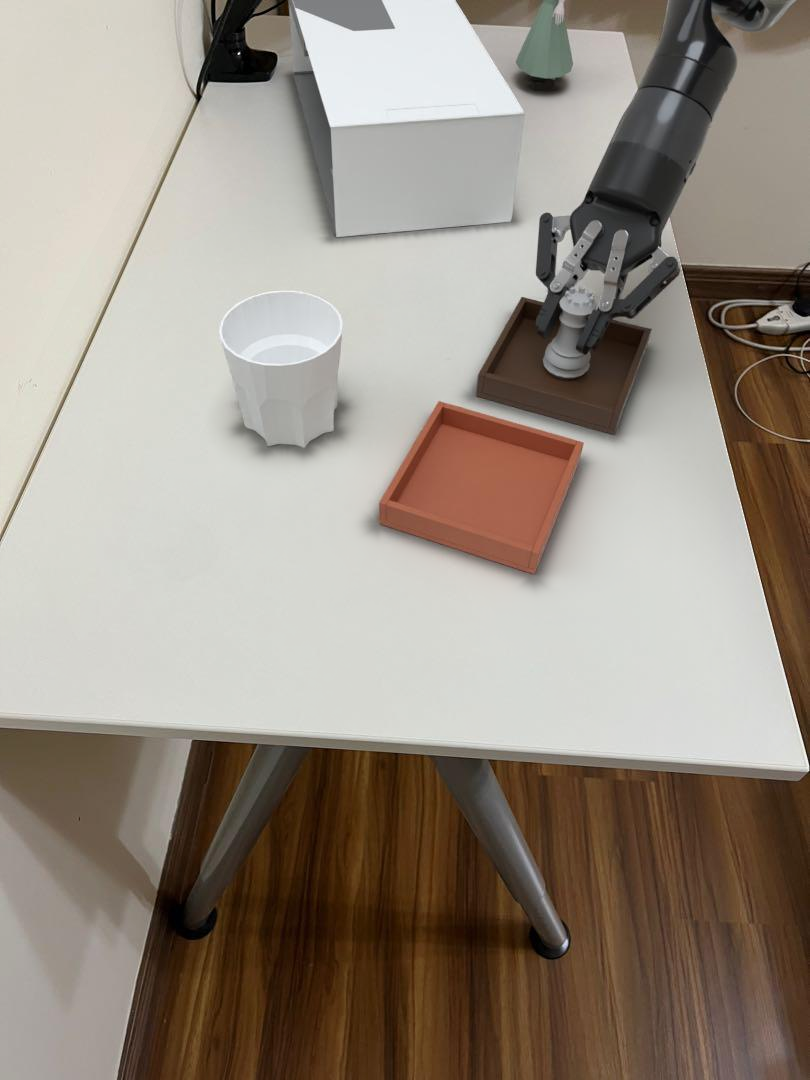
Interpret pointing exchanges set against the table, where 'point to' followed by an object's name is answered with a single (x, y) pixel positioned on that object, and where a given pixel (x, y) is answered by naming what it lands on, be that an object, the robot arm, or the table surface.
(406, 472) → the terracotta tray
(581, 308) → the rook chess piece
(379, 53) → the white box
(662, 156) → the robot arm
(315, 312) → the cup
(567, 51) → the character figurine
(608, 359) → the walnut tray
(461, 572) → the table surface
